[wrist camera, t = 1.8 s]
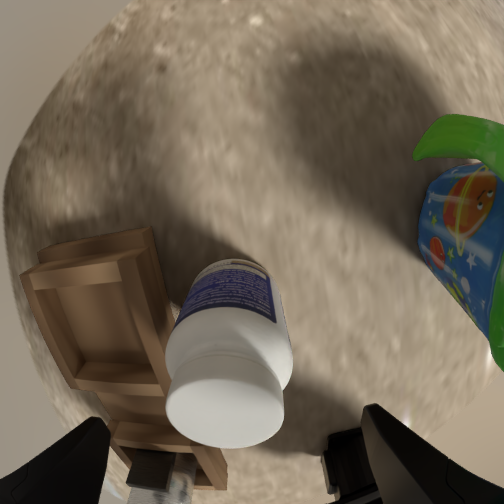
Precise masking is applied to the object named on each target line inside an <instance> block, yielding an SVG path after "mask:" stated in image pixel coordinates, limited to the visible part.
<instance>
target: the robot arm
mask: <svg viewBox="0 0 504 504" xmlns="http://www.w3.org/2000/svg"><path fill="white" fill-rule="evenodd" d="M361 427H362V428H359V429H355V430H351V431H347V432H342V433H337V434H333V435H330V436H329V437H328V439H327V449H326V450H325V451H324V452H323V455H322V467H323V472H324V477H325V483H326V488H327V493H328V494H330V495H331V494H334V496H335V502H332V503H329V504H504V488H502V487H500V486H497V485H495V484H493V483H491V482H489V481H487V480H485V479H483V478H481V477H478V476H477V475H475V474H473V473H471V472H469V471H467V470H466V469H464V468H463V467H461V466H460V465H458V464H457V463H455V462H454V461H453V460H451V459H448V457H447V456H446V455H444V454H443V453H441V452H440V451H439V450H437V449H436V448H435V447H433V446H432V445H431V444H429V443H428V442H427V441H425V440H424V439H423V438H421V437H420V436H419V435H417V434H416V433H415V432H413V431H412V430H411V429H409V428H408V427H407V426H405V425H404V424H403V423H402V422H400V421H399V420H398V419H396V418H395V417H394V416H392V415H391V414H390V413H389V412H387V411H386V410H385V409H384V408H382V407H381V406H380V405H378V404H377V403H373V404H370V405H366V406H365V407H364V409H363V413H362V418H361ZM110 440H111V432H110V430H109V429H108V427H107V426H106V424H105V423H104V421H103V420H102V419H101V418H99V417H93V416H91V417H89V418H88V419H86V420H85V421H84V422H82V423H81V424H80V425H78V426H77V427H76V428H74V429H73V430H72V431H70V432H69V433H68V434H66V435H65V436H64V437H63V438H61V439H60V440H58V441H57V442H55V443H54V444H53V445H51V446H50V447H49V448H47V449H46V450H44V451H43V452H42V453H40V454H39V455H38V456H36V457H35V458H33V459H32V460H30V461H29V462H28V463H26V464H25V465H23V466H22V467H20V468H19V469H17V470H16V471H14V472H12V473H11V474H9V475H7V476H5V477H3V478H2V479H0V504H98V503H99V498H100V494H101V489H102V485H103V481H104V477H105V472H106V468H107V461H108V454H109V447H110Z"/></svg>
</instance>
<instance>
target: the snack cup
mask: <svg viewBox="0 0 504 504" xmlns="http://www.w3.org/2000/svg"><path fill="white" fill-rule="evenodd" d="M430 157H432V158H465V159H467V158H469V159H478V160H480V161H481V162H480V163H472V164H466V165H463V166H457V167H454V168H452V169H450V170H447V171H446V172H444V173H443V174H442V175H440V176H439V177H438V178H437V179H436V180H435V181H433V182H431V183H430V185H429V187H428V190H427V192H426V198H425V200H424V204H423V207H422V210H421V213H420V218H419V225H418V229H419V238H418V241H417V242H418V246H419V250H420V252H421V254H422V255H423V258H424V259H425V263H426V265H427V266H428V267H429V269H430V270H431V272H432V273H433V274H434V276H435V277H436V278H437V279H438V280H439V281H440V282H441V283H442V285H443V286H444V287H445V288H446V289H447V290H448V291H449V293H450V294H451V295H452V296H453V297H454V299H455V300H456V301H457V302H458V303H459V305H460V306H461V307H462V308H463V309H464V311H465V312H466V313H467V314H468V316H469V317H470V318H471V319H472V321H473V322H474V323H475V325H476V326H477V327H478V328H479V329H480V330H481V331H482V332H483V334H484V335H485V336H486V338H487V339H488V341H489V343H490V348H491V354H492V357H493V358H494V360H495V362H496V364H497V365H498V366H499V367H500V368H501V370H502V371H503V372H504V125H502V124H500V123H497V122H494V121H491V120H487V119H483V118H478V117H473V116H466V115H459V114H451V115H450V114H447V115H444V116H442V117H440V118H439V119H437V120H436V121H435V122H434V123H433V124H432V125H431V126H430V127H429V129H428V130H427V131H426V132H425V134H424V135H423V136H422V138H421V140H420V141H419V143H418V144H417V146H416V147H415V149H414V151H413V154H412V158H413V160H414V161H419V160H422V159H423V158H430Z"/></svg>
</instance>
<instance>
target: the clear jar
mask: <svg viewBox="0 0 504 504" xmlns="http://www.w3.org/2000/svg"><path fill="white" fill-rule="evenodd" d="M197 461H198V460H197V458H196V457H195V455H194V453H185V452H169V451H158V450H148V449H140V448H137V450H136V453H135V456H134V459H133V462H132V465H131V468H130V471H129V474H128V477H127V480H126V484H127V485H128V486H130V487H132V488H131V492H130V495H129V498H128V502H127V504H191V502H192V495H193V488H194V481H195V474H196V467H197Z"/></svg>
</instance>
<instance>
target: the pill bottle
mask: <svg viewBox="0 0 504 504" xmlns="http://www.w3.org/2000/svg"><path fill="white" fill-rule="evenodd" d="M165 362H166V367H167V370H168V373H169V375H170V378H171V379H172V382H171V385H170V389H169V392H168V395H167V399H166V405H165V409H166V414H167V417H168V419H169V421H170V422H171V424H172V425H173V426H174V427H175V428H176V429H177V430H178V431H179V432H180V433H181V434H183V435H184V436H186V437H188V438H189V439H191V440H193V441H196V442H198V443H201V444H204V445H208V446H212V447H218V448H231V449H232V448H243V447H248V446H253V445H256V444H259V443H261V442H263V441H265V440H267V439H269V438H270V437H272V436H273V435H274V434H275V433H276V432H277V431H278V430H279V429H280V427H281V425H282V423H283V420H284V403H283V392H282V391H283V389H284V388H285V387H286V385H287V384H288V382H289V379H290V377H291V374H292V369H293V357H292V349H291V344H290V339H289V335H288V331H287V326H286V322H285V317H284V312H283V307H282V302H281V296H280V293H279V289H278V287H277V284H276V282H275V280H274V279H273V277H272V276H271V275H270V274H269V273H268V272H267V271H266V270H265V269H264V268H262V267H261V266H259V265H257V264H255V263H253V262H250V261H247V260H242V259H226V260H221V261H218V262H215V263H213V264H211V265H209V266H207V267H206V268H205V269H203V270H202V271H201V272H200V273H199V274H198V276H197V277H196V279H195V280H194V282H193V284H192V286H191V288H190V290H189V293H188V295H187V297H186V300H185V302H184V304H183V307H182V309H181V311H180V314H179V316H178V318H177V320H176V323H175V325H174V327H173V330H172V332H171V335H170V337H169V340H168V343H167V346H166V352H165Z"/></svg>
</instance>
